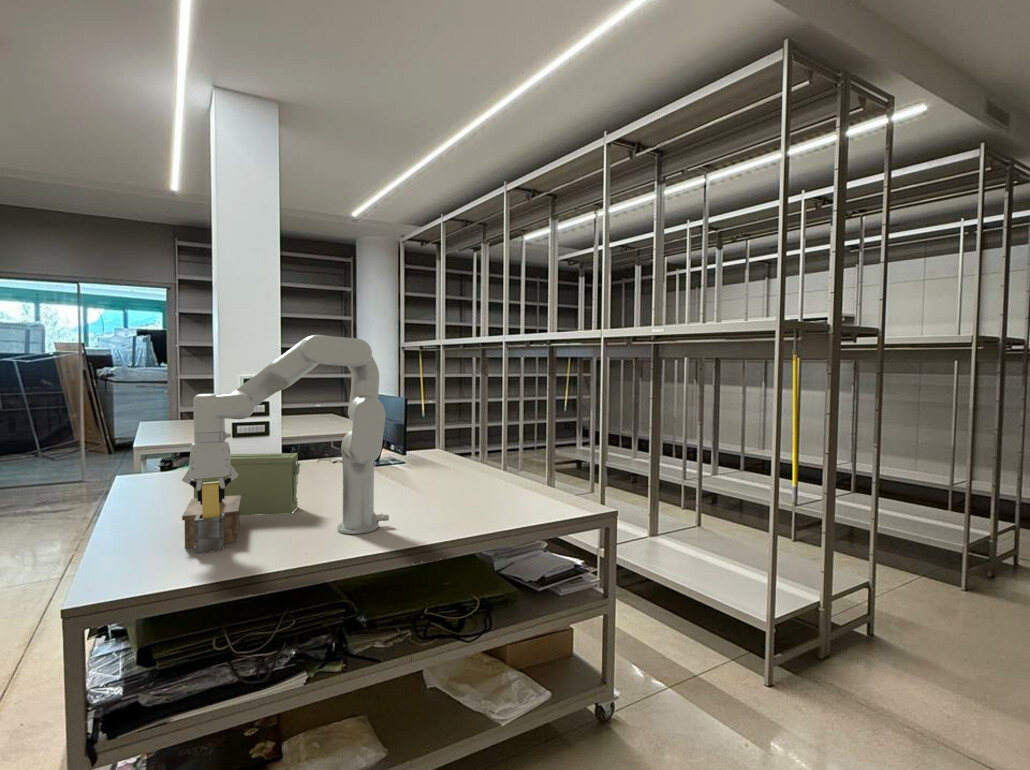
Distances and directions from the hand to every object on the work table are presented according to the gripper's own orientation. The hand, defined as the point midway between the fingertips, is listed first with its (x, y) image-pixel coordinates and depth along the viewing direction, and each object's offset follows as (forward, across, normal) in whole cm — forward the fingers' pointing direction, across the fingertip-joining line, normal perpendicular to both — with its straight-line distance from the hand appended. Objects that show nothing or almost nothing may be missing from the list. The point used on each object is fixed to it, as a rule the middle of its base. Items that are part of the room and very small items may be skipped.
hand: (211, 502), depth 152 cm
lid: (+6, +1, -10) cm, 12 cm away
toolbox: (+13, +1, -10) cm, 16 cm away
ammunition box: (+14, -8, -37) cm, 40 cm away
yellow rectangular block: (+11, 0, 0) cm, 11 cm away
